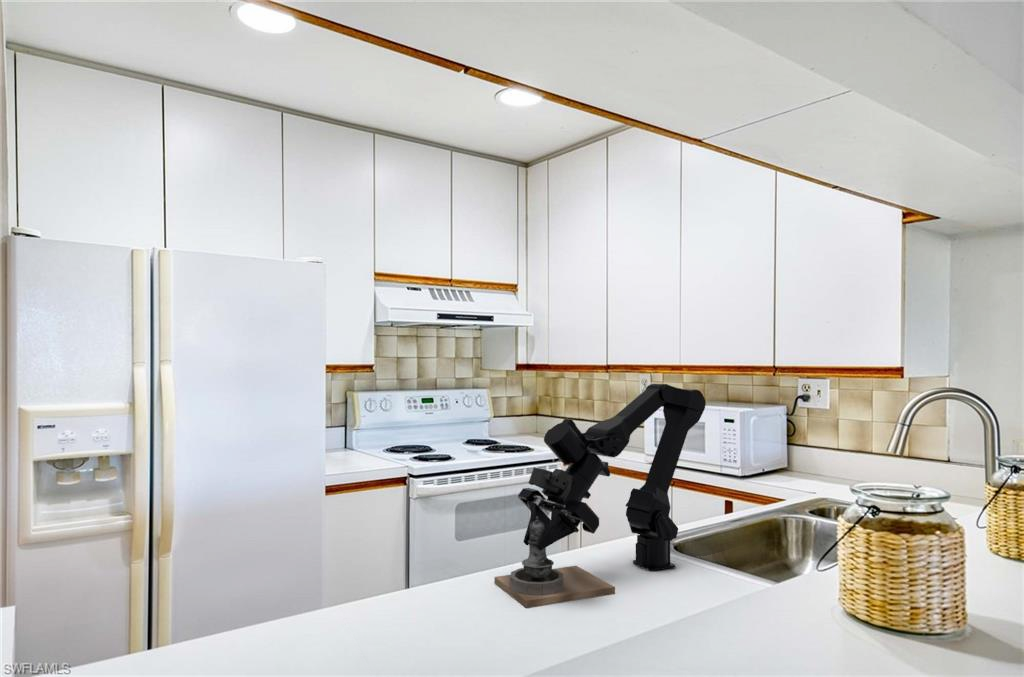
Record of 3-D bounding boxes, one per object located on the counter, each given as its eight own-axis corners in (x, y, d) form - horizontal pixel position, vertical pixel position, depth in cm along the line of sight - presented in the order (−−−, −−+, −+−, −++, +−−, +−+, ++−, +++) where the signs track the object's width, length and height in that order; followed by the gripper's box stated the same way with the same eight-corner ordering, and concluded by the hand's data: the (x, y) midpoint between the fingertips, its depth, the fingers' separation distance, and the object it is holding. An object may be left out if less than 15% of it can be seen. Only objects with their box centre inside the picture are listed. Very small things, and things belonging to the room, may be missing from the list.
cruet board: (576, 571, 129) (576, 555, 129) (614, 593, 116) (614, 575, 117) (494, 583, 122) (494, 566, 122) (526, 607, 109) (526, 588, 109)
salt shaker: (520, 577, 119) (520, 512, 120) (551, 576, 120) (551, 512, 121) (523, 588, 114) (522, 519, 114) (555, 587, 114) (555, 519, 115)
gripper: (525, 446, 128) (478, 509, 121) (586, 457, 112) (536, 529, 106) (556, 482, 132) (512, 544, 125) (619, 497, 116) (573, 569, 110)
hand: (531, 546), depth 116 cm, fingers closed on salt shaker, 4 cm apart
